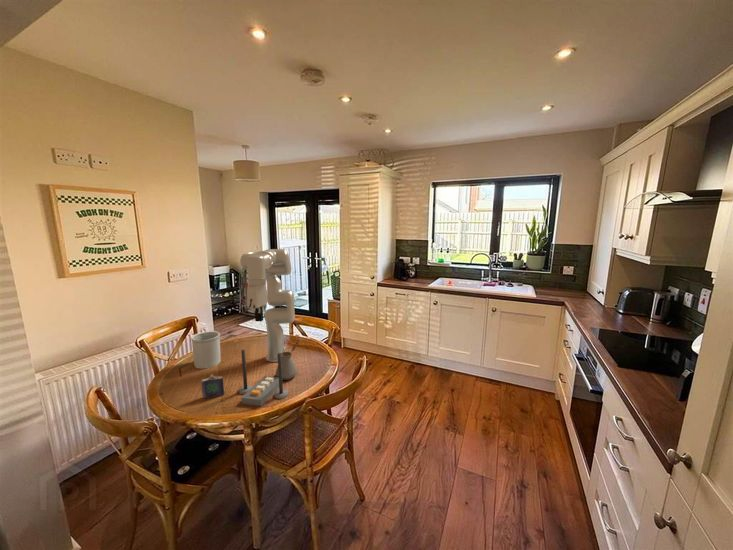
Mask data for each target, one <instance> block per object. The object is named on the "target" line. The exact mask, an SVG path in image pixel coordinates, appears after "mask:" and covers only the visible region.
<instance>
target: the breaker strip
mask: <svg viewBox="0 0 733 550" xmlns="http://www.w3.org/2000/svg"><path fill="white" fill-rule="evenodd" d="M282 383H283V381H282ZM283 384H284V383H283ZM277 390H279V378H278V377H277V376H267V375H263V377H262V378H261V379H260V380H259V381H258V382H256V383H255V384H254V386H252V388H251V389H250V390H249V391H248V392H247V393H246V394H243V395H242V396H241V398H240V400H241V404H242V405H249V406H258V407H263V405H264V404H265V403H266V402H267V401H268V400H269V399H270V398H271V397H272V396H273V395H274V393H275V392H276V391H277Z"/></svg>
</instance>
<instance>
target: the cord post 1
mask: <svg viewBox="0 0 733 550" xmlns="http://www.w3.org/2000/svg"><path fill="white" fill-rule="evenodd" d="M240 351H241V352H240V353H241V365H242V379H243V385H242V386H240V387H239V388H238V393H239V394H240V395H245V394H246V393H247V392H248V391H249V390H250V389H251V388H252V387H253V386H252V385H251V384H248V376H247V361H246V349H241V350H240Z"/></svg>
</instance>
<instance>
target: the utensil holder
mask: <svg viewBox="0 0 733 550" xmlns="http://www.w3.org/2000/svg"><path fill="white" fill-rule="evenodd" d="M220 336H221V333H220V331H215V330H208V331H207V330H206V331H201V332H198V333H195V334H193V335H192V336H191V338H190V340H191V344H192V345H191V346H192V357H193V364H194V365H193V366H194V367H195V368H196V369H210V368H213V367H216V366H217V365H219V364H220V363H221V340H220V338H221V337H220Z"/></svg>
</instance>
